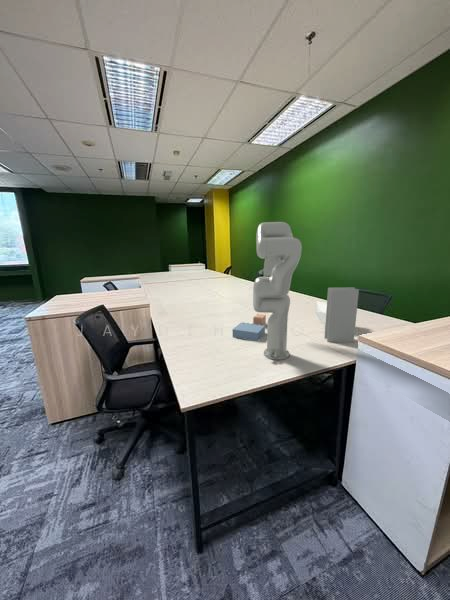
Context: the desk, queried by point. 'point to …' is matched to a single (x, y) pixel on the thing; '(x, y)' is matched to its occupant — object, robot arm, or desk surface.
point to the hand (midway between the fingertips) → (272, 285)
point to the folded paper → (321, 311)
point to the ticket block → (249, 331)
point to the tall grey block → (341, 314)
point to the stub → (259, 319)
